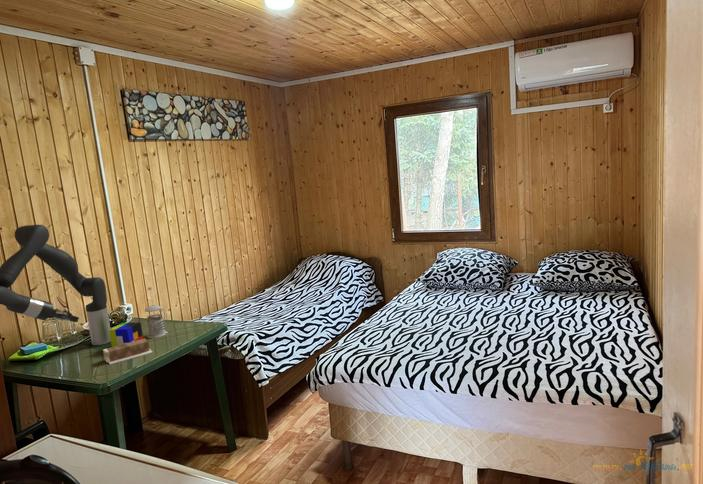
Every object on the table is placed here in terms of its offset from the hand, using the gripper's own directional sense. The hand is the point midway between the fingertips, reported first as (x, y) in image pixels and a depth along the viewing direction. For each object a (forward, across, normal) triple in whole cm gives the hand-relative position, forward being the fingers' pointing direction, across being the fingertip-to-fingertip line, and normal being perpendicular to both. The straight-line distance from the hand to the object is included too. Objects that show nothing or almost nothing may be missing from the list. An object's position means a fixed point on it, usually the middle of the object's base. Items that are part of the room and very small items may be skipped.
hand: (77, 319), depth 209 cm
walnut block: (+15, -4, +13) cm, 20 cm away
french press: (+44, +4, -5) cm, 45 cm away
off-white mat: (+24, -8, +10) cm, 27 cm away
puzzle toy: (+30, +5, +4) cm, 31 cm away
